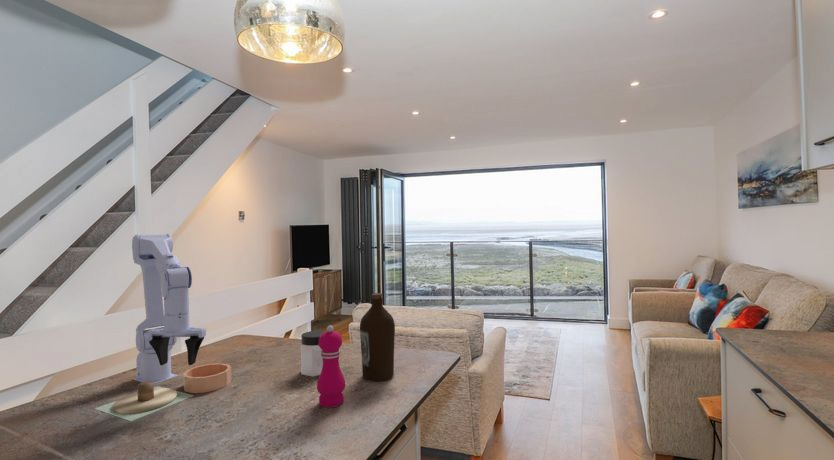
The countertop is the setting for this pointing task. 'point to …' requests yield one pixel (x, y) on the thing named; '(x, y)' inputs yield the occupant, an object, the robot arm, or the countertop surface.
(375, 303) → the olive oil
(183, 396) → the mat
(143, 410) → the lid
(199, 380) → the bowl
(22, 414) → the countertop surface
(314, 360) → the jar
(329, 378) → the pepper mill
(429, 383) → the countertop surface
